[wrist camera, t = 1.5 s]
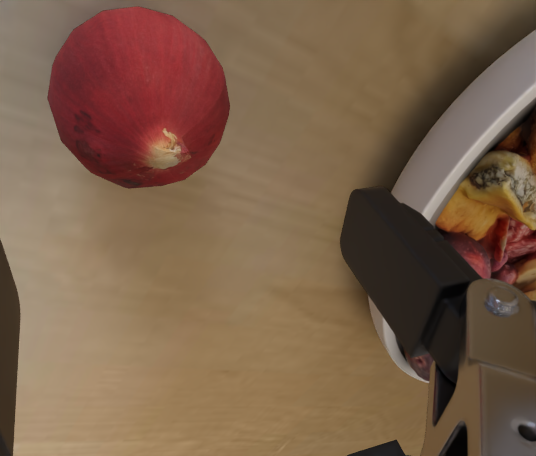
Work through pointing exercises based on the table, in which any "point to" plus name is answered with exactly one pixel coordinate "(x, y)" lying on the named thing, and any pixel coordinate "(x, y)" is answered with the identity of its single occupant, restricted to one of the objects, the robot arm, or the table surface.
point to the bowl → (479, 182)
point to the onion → (138, 97)
